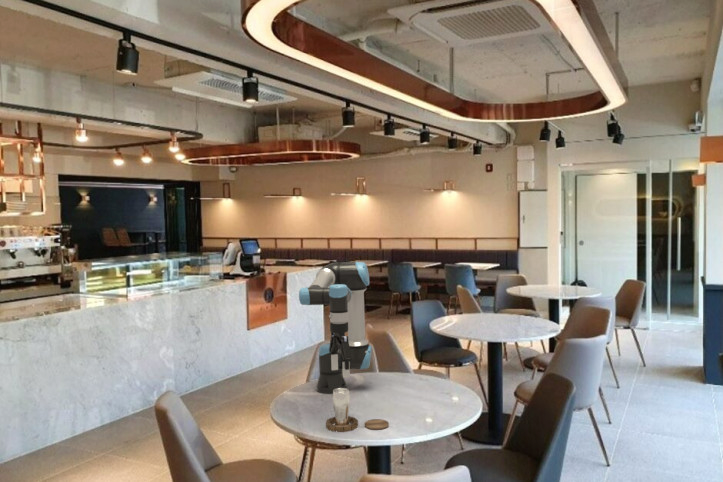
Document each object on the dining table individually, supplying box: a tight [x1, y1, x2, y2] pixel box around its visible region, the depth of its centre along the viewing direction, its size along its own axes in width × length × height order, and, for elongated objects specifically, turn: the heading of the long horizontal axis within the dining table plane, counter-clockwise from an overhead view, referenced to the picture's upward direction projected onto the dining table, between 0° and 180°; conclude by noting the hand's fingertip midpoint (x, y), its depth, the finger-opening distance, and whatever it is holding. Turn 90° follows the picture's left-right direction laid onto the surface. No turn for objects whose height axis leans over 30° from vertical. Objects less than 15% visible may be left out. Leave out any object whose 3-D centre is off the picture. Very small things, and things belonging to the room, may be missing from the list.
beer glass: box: [332, 387, 351, 426], centre depth 238 cm, size 7×7×15 cm
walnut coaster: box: [364, 418, 390, 431], centre depth 238 cm, size 10×10×1 cm
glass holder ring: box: [325, 415, 359, 433], centre depth 238 cm, size 13×13×2 cm
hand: (340, 373), depth 238 cm, fingers open, 13 cm apart
